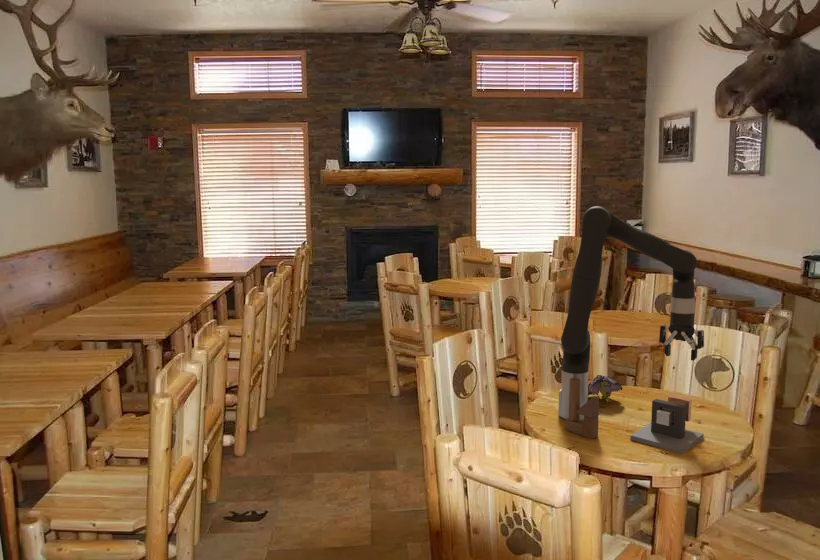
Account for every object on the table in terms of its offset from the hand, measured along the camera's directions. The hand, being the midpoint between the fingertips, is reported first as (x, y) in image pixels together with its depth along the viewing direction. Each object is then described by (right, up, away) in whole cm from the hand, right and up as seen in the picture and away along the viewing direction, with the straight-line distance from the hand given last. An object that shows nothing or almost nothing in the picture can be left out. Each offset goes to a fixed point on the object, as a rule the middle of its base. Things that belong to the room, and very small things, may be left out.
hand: (680, 357), depth 229 cm
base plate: (-7, -26, -7) cm, 28 cm away
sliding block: (-5, -21, -6) cm, 22 cm away
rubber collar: (-7, -24, -7) cm, 26 cm away
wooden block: (-34, -25, -1) cm, 42 cm away
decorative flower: (-18, -20, +30) cm, 41 cm away
